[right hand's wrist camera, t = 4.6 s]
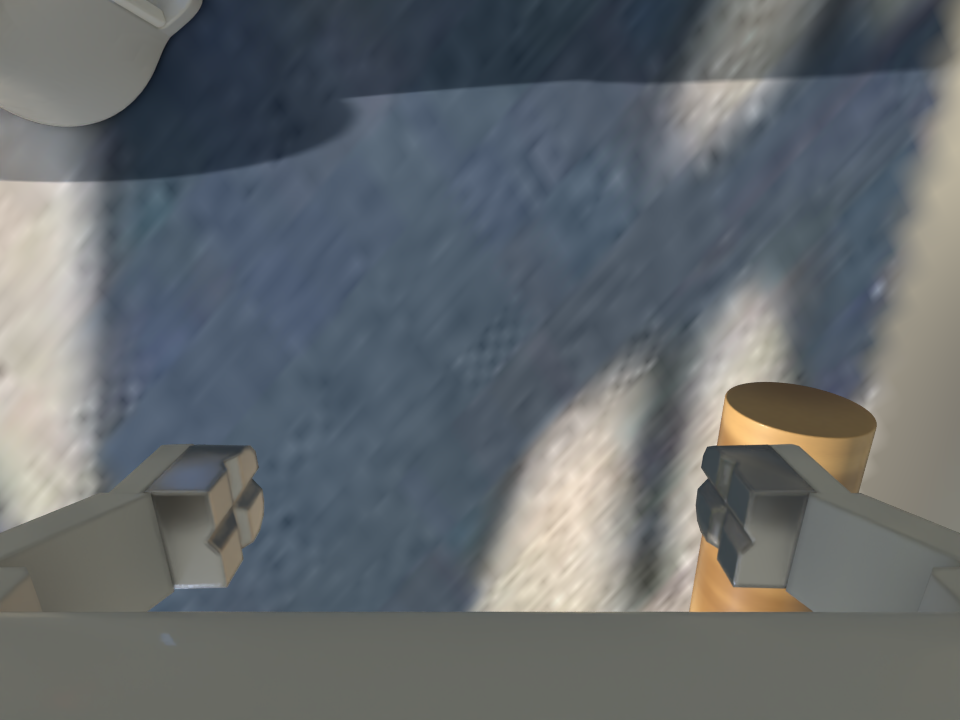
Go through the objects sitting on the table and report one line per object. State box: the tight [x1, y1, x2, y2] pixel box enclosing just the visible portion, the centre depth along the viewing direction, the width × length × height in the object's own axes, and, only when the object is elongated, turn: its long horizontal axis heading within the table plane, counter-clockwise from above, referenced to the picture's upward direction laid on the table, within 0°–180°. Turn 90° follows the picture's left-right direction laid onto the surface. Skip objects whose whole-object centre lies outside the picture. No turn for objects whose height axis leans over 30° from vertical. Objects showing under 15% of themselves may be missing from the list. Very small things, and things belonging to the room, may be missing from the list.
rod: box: [689, 382, 877, 612], centre depth 29 cm, size 25×6×6 cm, turn 0°
